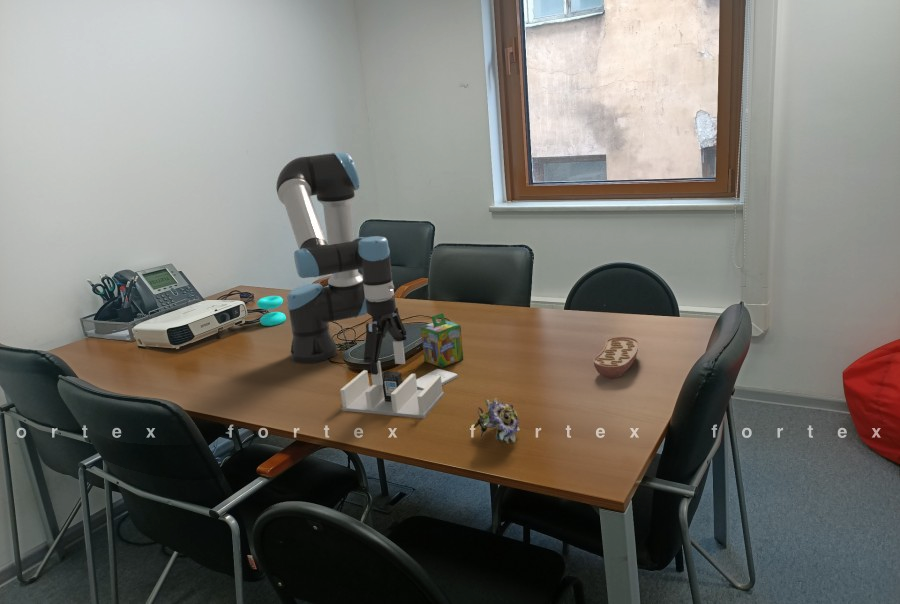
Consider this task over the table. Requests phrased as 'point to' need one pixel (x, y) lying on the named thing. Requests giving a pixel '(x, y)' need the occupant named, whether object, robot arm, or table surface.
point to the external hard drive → (427, 378)
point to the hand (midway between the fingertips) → (389, 373)
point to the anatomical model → (616, 356)
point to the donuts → (272, 317)
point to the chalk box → (442, 342)
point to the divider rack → (403, 397)
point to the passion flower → (499, 420)
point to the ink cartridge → (390, 383)
